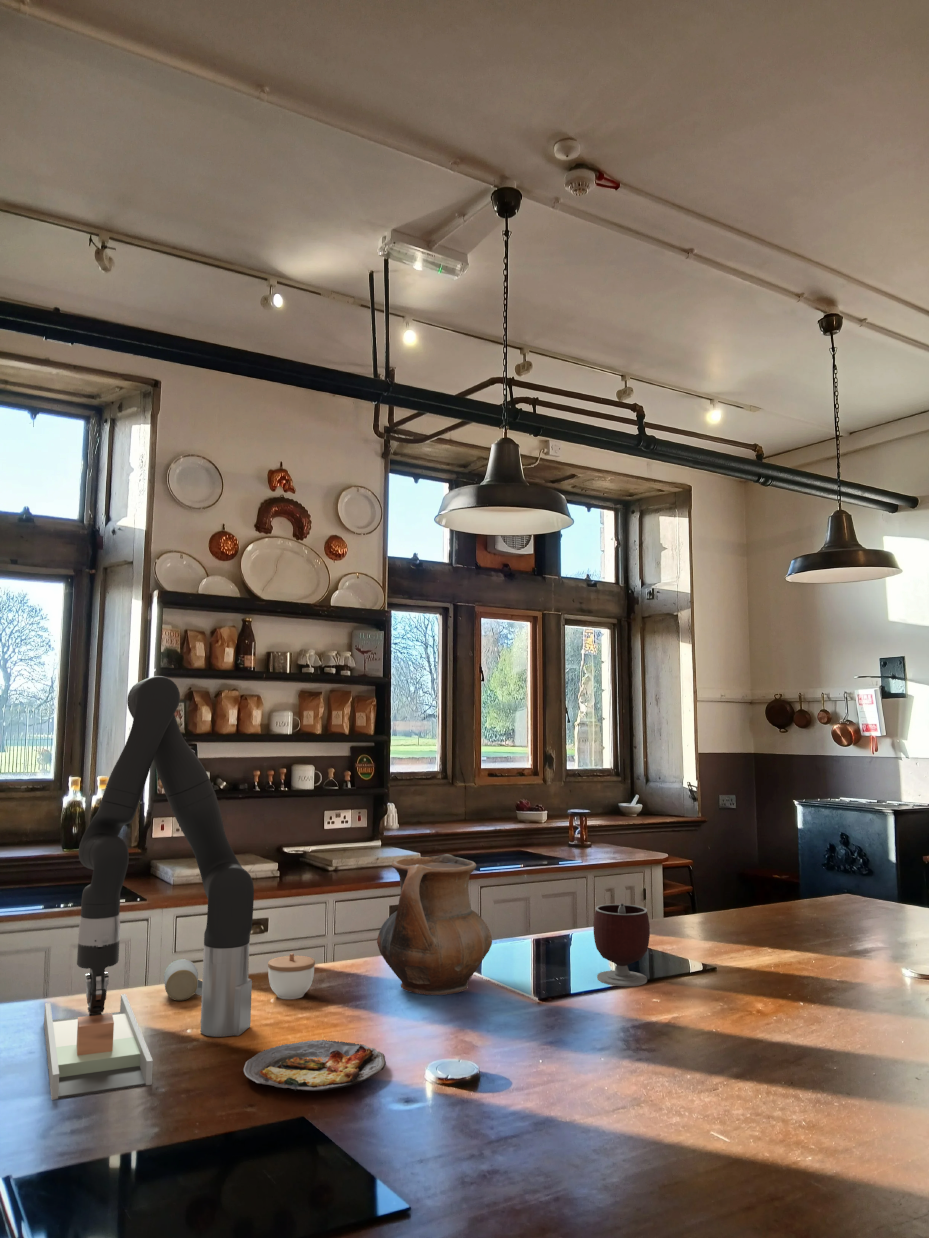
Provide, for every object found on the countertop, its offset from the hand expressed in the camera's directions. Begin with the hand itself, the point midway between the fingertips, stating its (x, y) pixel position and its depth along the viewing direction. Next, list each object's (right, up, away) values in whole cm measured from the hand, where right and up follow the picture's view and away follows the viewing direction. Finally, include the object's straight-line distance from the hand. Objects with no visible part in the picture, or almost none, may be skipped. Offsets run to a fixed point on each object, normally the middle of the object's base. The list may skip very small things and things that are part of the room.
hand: (94, 1032), depth 177 cm
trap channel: (0, -4, 0) cm, 4 cm away
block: (+2, 0, -5) cm, 6 cm away
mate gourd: (+110, -11, +53) cm, 122 cm away
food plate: (+44, -3, -10) cm, 45 cm away
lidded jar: (+31, -8, +37) cm, 49 cm away
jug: (+64, -10, +47) cm, 80 cm away
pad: (+3, -3, -7) cm, 8 cm away
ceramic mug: (+7, -8, +36) cm, 38 cm away
